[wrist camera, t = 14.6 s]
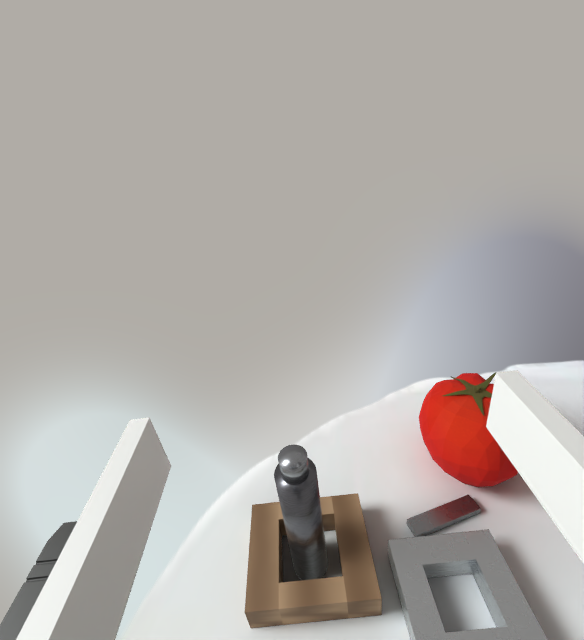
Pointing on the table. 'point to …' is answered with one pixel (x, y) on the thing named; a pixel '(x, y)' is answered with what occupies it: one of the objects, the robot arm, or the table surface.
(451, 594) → the table surface
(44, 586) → the robot arm
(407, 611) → the socket collar
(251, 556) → the frame
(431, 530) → the bar
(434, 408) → the tomato
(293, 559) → the metal bottle
